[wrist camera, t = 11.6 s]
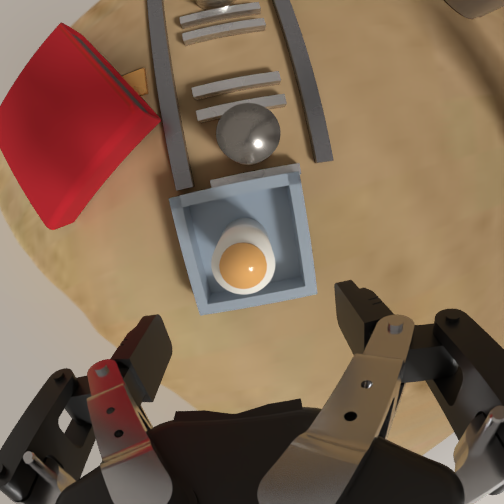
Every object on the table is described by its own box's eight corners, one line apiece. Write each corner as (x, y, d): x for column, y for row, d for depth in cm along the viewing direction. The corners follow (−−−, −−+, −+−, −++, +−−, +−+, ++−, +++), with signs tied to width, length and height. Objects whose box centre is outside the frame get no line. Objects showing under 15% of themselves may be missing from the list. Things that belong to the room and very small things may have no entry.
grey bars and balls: (274, -31, 18) (279, -59, 12) (332, 169, 24) (353, 167, 19) (115, 7, 18) (96, -14, 13) (140, 208, 25) (115, 217, 20)
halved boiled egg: (263, 213, 25) (269, 228, 18) (272, 258, 26) (280, 290, 19) (216, 223, 25) (203, 242, 18) (226, 267, 26) (218, 301, 19)
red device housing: (14, 124, 22) (-12, 123, 17) (81, 34, 19) (59, 20, 14) (77, 221, 26) (49, 231, 21) (163, 121, 23) (143, 112, 18)
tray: (293, 171, 25) (298, 171, 22) (310, 281, 28) (317, 293, 25) (177, 195, 25) (168, 198, 22) (204, 301, 28) (200, 315, 25)
